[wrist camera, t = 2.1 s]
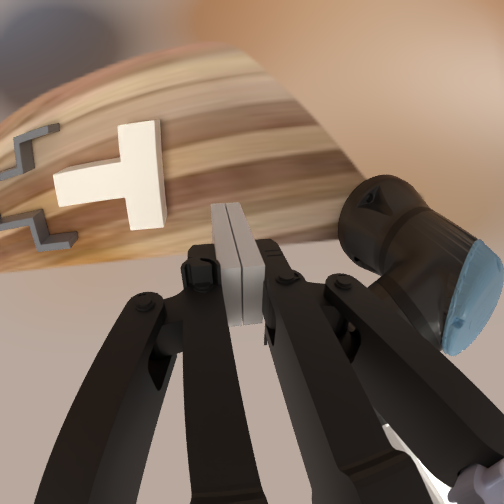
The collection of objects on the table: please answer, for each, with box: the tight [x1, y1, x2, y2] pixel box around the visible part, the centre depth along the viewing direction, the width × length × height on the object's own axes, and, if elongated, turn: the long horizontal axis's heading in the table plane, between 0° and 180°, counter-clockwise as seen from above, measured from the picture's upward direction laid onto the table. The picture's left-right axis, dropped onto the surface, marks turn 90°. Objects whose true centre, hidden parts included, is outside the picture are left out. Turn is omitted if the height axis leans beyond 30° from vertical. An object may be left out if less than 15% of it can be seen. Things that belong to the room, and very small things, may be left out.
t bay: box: [0, 123, 78, 252], centre depth 25 cm, size 16×16×3 cm
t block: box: [53, 119, 167, 230], centre depth 27 cm, size 13×12×4 cm
